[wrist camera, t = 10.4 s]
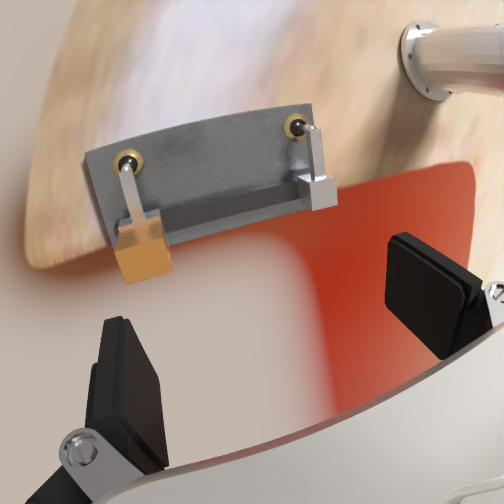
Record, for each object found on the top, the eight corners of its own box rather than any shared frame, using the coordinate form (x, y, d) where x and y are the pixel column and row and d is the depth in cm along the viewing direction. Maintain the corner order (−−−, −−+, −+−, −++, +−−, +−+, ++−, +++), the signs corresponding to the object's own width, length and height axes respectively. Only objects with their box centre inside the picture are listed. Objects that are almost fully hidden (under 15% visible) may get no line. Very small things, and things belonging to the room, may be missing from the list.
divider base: (305, 103, 33) (332, 103, 28) (316, 201, 39) (342, 216, 33) (87, 151, 28) (74, 158, 23) (118, 255, 34) (114, 280, 29)
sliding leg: (146, 156, 29) (144, 169, 21) (167, 238, 33) (173, 274, 25) (107, 168, 28) (92, 185, 21) (131, 248, 32) (127, 288, 25)
